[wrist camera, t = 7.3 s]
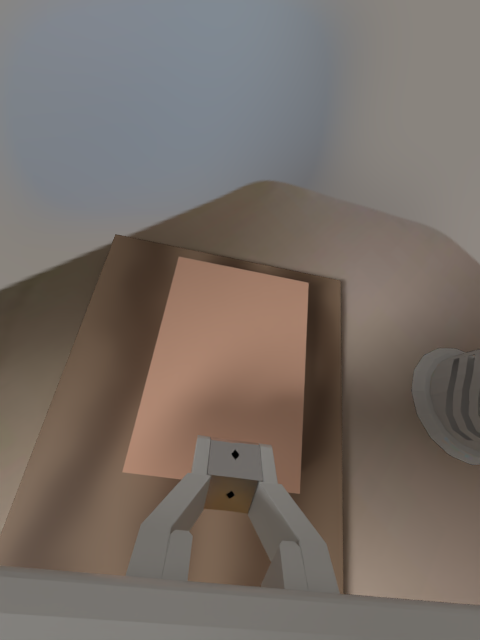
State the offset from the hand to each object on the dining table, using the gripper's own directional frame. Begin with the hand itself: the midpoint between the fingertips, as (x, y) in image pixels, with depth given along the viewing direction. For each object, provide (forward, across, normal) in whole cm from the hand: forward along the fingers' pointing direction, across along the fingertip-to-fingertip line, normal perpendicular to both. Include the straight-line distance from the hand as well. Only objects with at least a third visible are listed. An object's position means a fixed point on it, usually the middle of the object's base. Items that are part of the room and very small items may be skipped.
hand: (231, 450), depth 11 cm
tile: (+3, 0, +6) cm, 7 cm away
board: (+8, +1, +5) cm, 9 cm away
